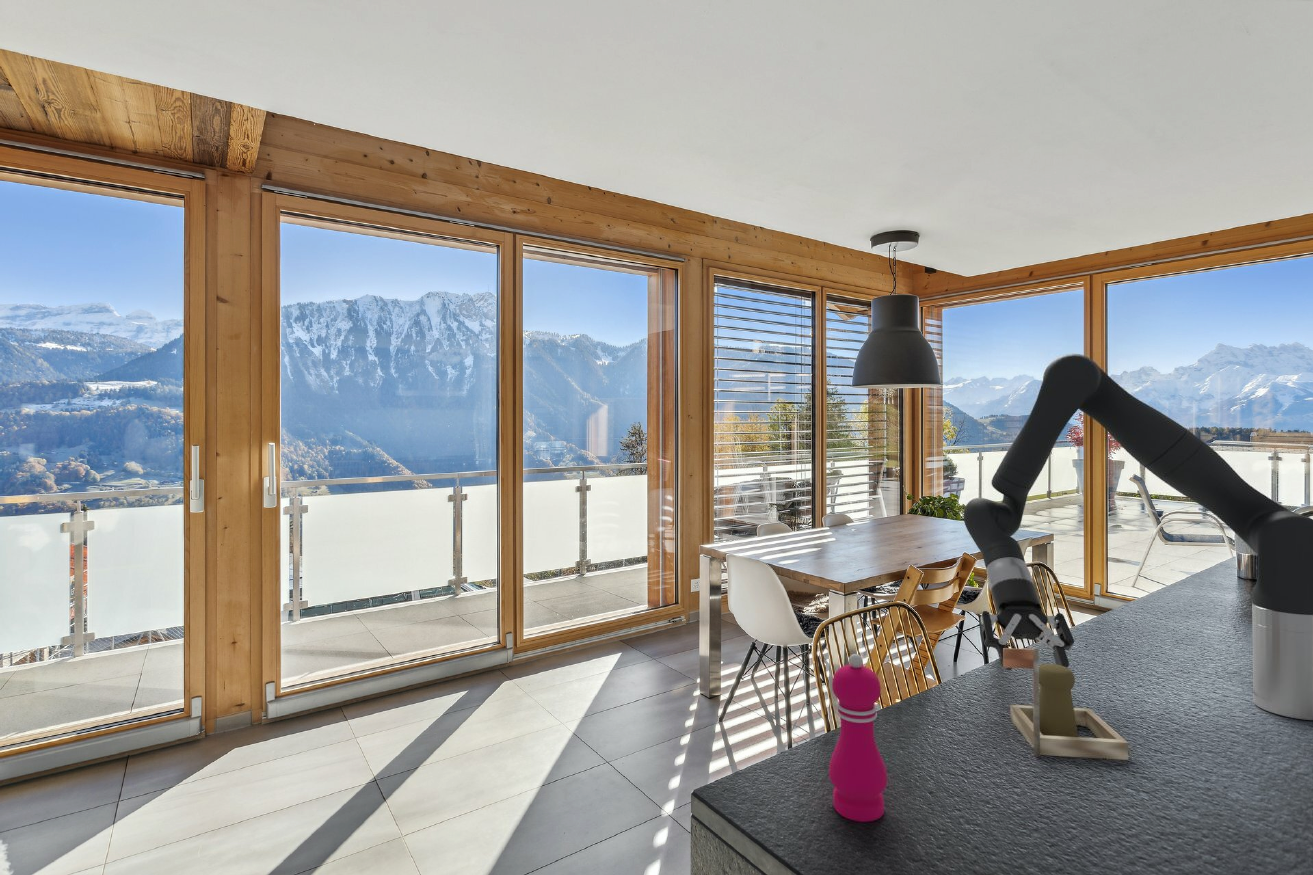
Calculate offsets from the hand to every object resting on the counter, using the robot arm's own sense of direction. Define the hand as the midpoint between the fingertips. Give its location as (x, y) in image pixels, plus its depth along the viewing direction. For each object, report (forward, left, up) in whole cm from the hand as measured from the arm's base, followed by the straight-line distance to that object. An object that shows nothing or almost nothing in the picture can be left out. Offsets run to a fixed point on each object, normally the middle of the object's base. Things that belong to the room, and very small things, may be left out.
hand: (1036, 669), depth 115 cm
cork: (+1, +11, -7) cm, 13 cm away
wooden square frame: (+2, +12, -7) cm, 14 cm away
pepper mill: (+34, +35, -7) cm, 50 cm away
